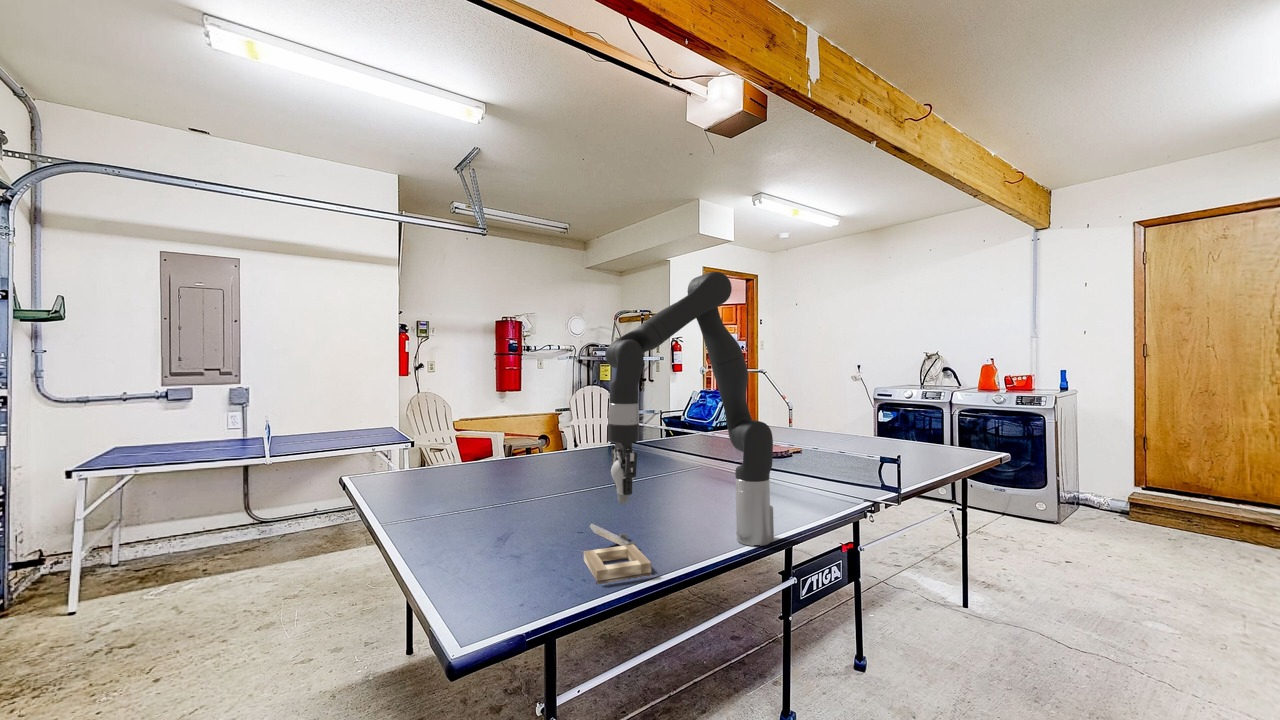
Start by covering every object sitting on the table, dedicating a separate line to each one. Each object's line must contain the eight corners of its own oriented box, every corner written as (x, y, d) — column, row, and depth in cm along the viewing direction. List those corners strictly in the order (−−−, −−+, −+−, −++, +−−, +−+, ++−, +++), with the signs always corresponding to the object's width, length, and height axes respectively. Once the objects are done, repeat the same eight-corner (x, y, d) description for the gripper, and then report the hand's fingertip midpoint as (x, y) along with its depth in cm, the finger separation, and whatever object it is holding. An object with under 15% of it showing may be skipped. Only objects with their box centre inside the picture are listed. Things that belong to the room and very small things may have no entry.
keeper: (594, 533, 128) (596, 528, 128) (589, 527, 133) (591, 522, 134) (631, 551, 131) (634, 546, 131) (625, 544, 137) (627, 539, 137)
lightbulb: (632, 508, 117) (633, 461, 117) (607, 506, 118) (608, 460, 118) (638, 501, 123) (638, 456, 123) (614, 500, 124) (614, 455, 124)
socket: (633, 556, 127) (633, 544, 128) (651, 575, 115) (651, 562, 115) (583, 563, 123) (583, 551, 123) (596, 584, 111) (596, 570, 111)
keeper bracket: (626, 541, 138) (626, 532, 138) (636, 552, 130) (636, 543, 130) (619, 542, 138) (619, 533, 138) (629, 553, 129) (629, 544, 129)
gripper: (648, 424, 115) (647, 497, 115) (629, 418, 129) (628, 484, 128) (617, 425, 113) (616, 500, 112) (601, 419, 126) (600, 486, 126)
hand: (623, 491), depth 120 cm, fingers closed on lightbulb, 6 cm apart
